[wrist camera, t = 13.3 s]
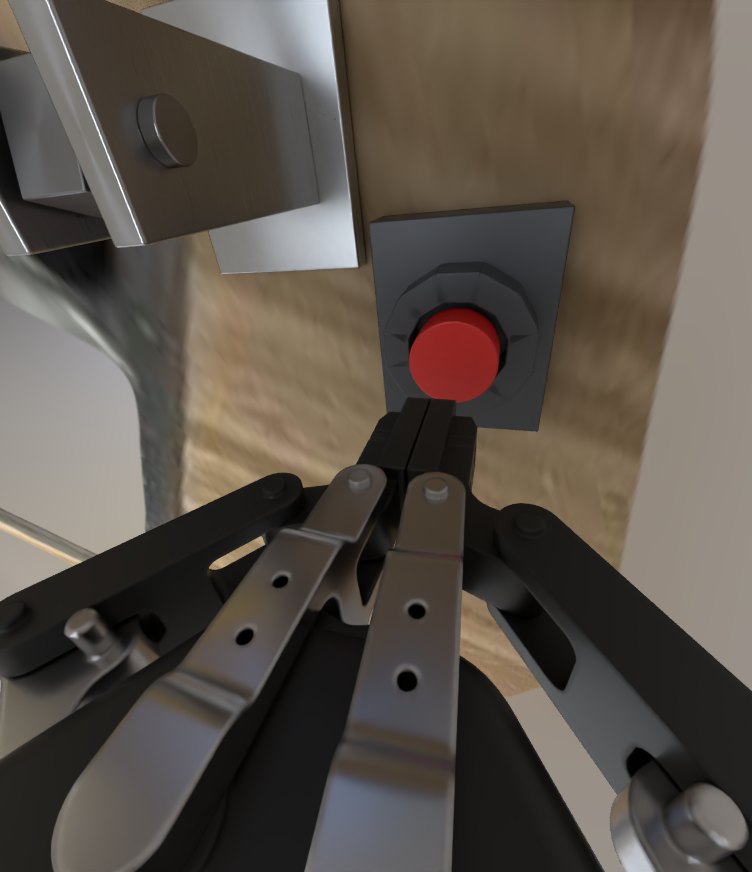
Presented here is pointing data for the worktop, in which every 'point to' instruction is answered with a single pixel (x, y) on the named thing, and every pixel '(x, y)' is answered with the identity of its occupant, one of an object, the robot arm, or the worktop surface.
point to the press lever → (40, 141)
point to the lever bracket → (197, 130)
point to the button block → (474, 296)
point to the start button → (455, 355)
